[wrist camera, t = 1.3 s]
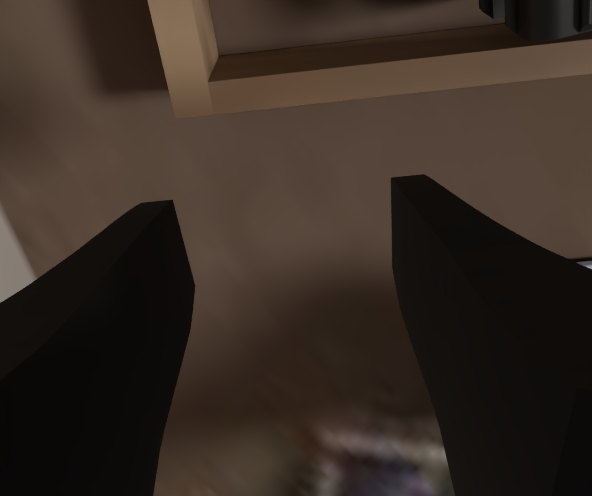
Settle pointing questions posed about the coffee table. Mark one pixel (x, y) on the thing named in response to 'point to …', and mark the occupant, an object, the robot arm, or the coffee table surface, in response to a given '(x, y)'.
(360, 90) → the cubby
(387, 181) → the coffee table surface
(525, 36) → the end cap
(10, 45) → the coffee table surface
